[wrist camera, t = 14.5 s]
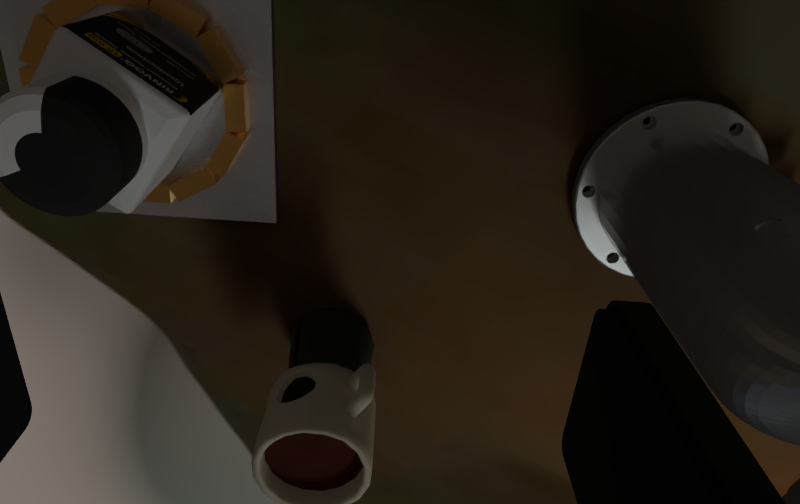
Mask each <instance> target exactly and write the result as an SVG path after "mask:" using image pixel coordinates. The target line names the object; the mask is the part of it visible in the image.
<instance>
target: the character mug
mask: <svg viewBox="0 0 800 504" xmlns="http://www.w3.org/2000/svg"><path fill="white" fill-rule="evenodd" d="M295 332H296V327H295V329H294V330H293V336H292V342H291V350H290V358H289V369H288V370H286V371H285V372H283V373H282V374H281V375H280V376H279V378H278V379H277V381H276V382H275V384H274V385H273V388H272V390H271V392H270V394H269V397H268V400H267V411H266V414H265V416H264V419H263V422H262V424H261V427H260V429H259V432H258V435H257V442H256V446H255V449H254V453H253V457H252V470H253V477H254V479H255V480H256V482H257V484H258V486H259V487H260V489H261V490H262V492H263V493H265V494H266V495H267V496H268V497H270V498H271V499H272V500H274V501H275V502H276V503H277V504H351V503H353V502H355V501H357V500H358V499H360V498H361V496H362V495H363V493H364V492H365V491H366V489H367V488H368V486H369V485H370V481H371V472H372V463H373V446H374V427H375V408H376V402H375V399H374V393H375V375H376V371H375V369H374V367H373V365H372V363H370V362H371V358H372V353H373V348H374V344H373V341H372V338H371V335H370V332H369V331H368V330H367V329H366V328H365V327H364V326H363V325H362V323H361V322H360V321H359V320H358V319H356V318H354V317H352V316H350V315H348V314H346V313H344V312H342V311H338V310H320V311H318V312H315V313H312V314H310V315H307V316H305V317H304V319H303V322H302V328H301V333H300V335H299V338H298V340H297V343H296V345H295V351H294V341H295Z"/></svg>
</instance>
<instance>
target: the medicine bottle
mask: <svg viewBox="0 0 800 504" xmlns="http://www.w3.org/2000/svg"><path fill="white" fill-rule="evenodd" d="M222 88H223V86H222V83H221V82H220V81H219V80H217V79H216V78H214V77H213V76H211V75H210V74H209V73H207V72H206V71H204V70H203V69H201V68H200V67H199V66H197V65H196V64H194V63H193V62H192V61H190V60H189V59H187V58H186V57H184V56H183V55H182V54H180V53H179V52H177V51H176V50H175V49H173V48H172V47H170V46H169V45H167V44H166V43H165V42H163V41H162V40H160V39H159V38H157V37H156V36H155V35H153V34H152V33H150V32H149V31H148V30H146V29H145V28H143V27H142V26H140V25H139V24H138V23H136V22H135V21H133V20H132V19H131V18H129V17H128V16H126V15H125V14H123V13H122V12H120V11H113V12H110V13H106V14H103V15H99V16H96V17H92V18H88V19H85V20H81V21H78V22H74V23H71V24H67V25H64V26H60V27H58V28H57V29H56V30H55V31H54V34H53V36H52V38H51V40H50V42H49V44H48V46H47V48H46V50H45V52H44V55H43V57H42V59H41V61H40V63H39V65H38V67H37V69H36V71H35V74H34V76H33V78H32V80H31V82H30V84H27V85H25V86H23V87H20V88H18V89H15V90H13V91H10V92H8V93H7V94H5V95H3V96H1V97H0V181H1V182H2V184H3V185H4V186H5V187H6V188H7V189H8V190H9V191H10V192H11V193H13V194H14V195H15V196H16V197H18V198H19V199H21V200H22V201H24V202H25V203H27V204H29V205H30V206H32V207H34V208H36V209H39V210H41V211H44V212H47V213H51V214H55V215H61V216H80V215H85V214H89V213H92V212H94V211H96V210H98V209H100V208H102V207H103V206H105V205H106V204H107V203H109V204H110V205H112V206H114V207H115V208H117V209H119V210H120V211H122V212H124V213H131V212H132V211H134V209H135V208H136V207H137V206H138V205H139V204H140V203H141V202H142V201H143V200H144V199H145V198H146V197H147V196H148V195H149V194H150V193H151V192H152V191H153V190H154V189H155V187H156V186H157V185H158V184H159V183H160V182H161V181H162V180H163V179H164V178H165V177H166V176H167V175H168V174H169V173H170V172H171V171H172V170H173V168H174V166H175V165H176V163H177V162H178V160H179V158H180V157H181V155H182V154H183V152H184V150H185V149H186V147H187V146H188V144H189V142H190V141H191V139H192V138H193V136H194V134H195V133H196V131H197V130H198V128H199V126H200V125H201V123H202V122H203V120H204V118H205V117H206V115H207V114H208V112H209V110H210V109H211V107H212V106H213V104H214V102H215V101H216V99H217V98H218V96H219V94H220V93H221V91H222Z"/></svg>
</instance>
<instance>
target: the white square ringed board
mask: <svg viewBox="0 0 800 504" xmlns="http://www.w3.org/2000/svg"><path fill="white" fill-rule="evenodd" d="M113 11H120V12H122V13H123V14H125V15H126V16H128V17H129V18H131V19H132V20H133V21H135V22H136V23H138V24H139V25H140V26H142V27H143V28H145V29H146V30H148V31H149V32H150V33H152V34H153V35H155V36H156V37H157V38H159V39H160V40H162V41H163V42H165V43H166V44H167V45H169V46H170V47H172V48H173V49H175V50H176V51H177V52H179V53H180V54H182V55H183V56H184V57H186V58H187V59H189V60H190V61H192V62H193V63H194V64H196V65H197V66H199V67H200V68H201V69H203V70H204V71H206V72H207V73H209V74H210V75H211V76H213V77H214V78H216V79H217V80H219V81H220V82H221V83H222V86H223V88H222V91H221V93H220V94H219V96H218V98H217V99H216V101H215V102H214V104H213V106H212V107H211V109H210V110H209V112H208V114H207V115H206V117H205V118H204V120H203V122H202V123H201V125H200V126H199V128H198V130H197V131H196V133H195V134H194V136H193V138H192V139H191V141H190V142H189V144H188V146H187V147H186V149H185V150H184V152H183V154H182V155H181V157H180V158H179V160H178V162H177V163H176V165H175V166H174V168H173V170H172V171H171V172H170V173H169V174H168V175H167V176H166V177H165V178H164V179H163V180H162V181H161V182H160V183H159V184H158V185H157V186H156V187H155V189H154V190H153V191H152V192H151V193H150V194H149V195H148V196H147V197H146V198H145V199H144V200H143V201H142V202H141V203H140V204H139V205H138V206H137V207H136V208H135V209H134V211H132V212H131V213H129V214H144V215H159V216H175V217H190V218H205V219H220V220H235V221H250V222H265V223H277V221H278V173H277V129H276V85H275V41H274V0H0V48H1V52H2V57H3V61H4V66H5V70H6V74H7V79H8V83H9V88H10V91H13V90H15V89H18V88H20V87H23V86H25V85H27V84H30V82H31V80H32V78H33V76H34V74H35V71H36V69H37V67H38V65H39V63H40V61H41V59H42V57H43V55H44V52H45V50H46V48H47V46H48V44H49V42H50V40H51V38H52V36H53V34H54V31H55V30H56V29H57V28H58V27H60V26H64V25H67V24H71V23H74V22H78V21H81V20H85V19H88V18H92V17H96V16H99V15H103V14H106V13H110V12H113ZM96 211H99V212H114V213H124V212H122V211H120V210H119V209H117V208H115V207H114V206H112V205H110V204H109V203H107V204H106V205H105V206H103V207H102V208H100V209H98V210H96Z"/></svg>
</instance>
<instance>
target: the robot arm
mask: <svg viewBox="0 0 800 504" xmlns="http://www.w3.org/2000/svg"><path fill="white" fill-rule="evenodd" d="M646 117H648V120H647V121H646V122H645V123H642V122H643V120H644V119H645V118H646ZM731 125H733V126H732V127H731ZM730 127H731V128H730ZM588 185H589V186H588ZM586 186H588V188H587V189H584V190H583V188H584V187H586ZM571 208H572V215H573V222H574V224H575V227H576V229H577V232H578V235H579V237H580V238H581V240H582V242H583V243H584V245H585V247H586V248H587V249H588V250H589V252H590V253H591V254H592V255H593V256H594V257H595V259H597V260H598V261H599V262H600V263H602V264H603V265H604V266H606V267H607V268H609V269H612V270H614V271H616V272H618V273H620V274H623V275H627V276H631V277H635V279H636V280H637V282H638V283H639V285H640V286H641V287H642V289H643V290H644V292H645V293H646V295H647V296H648V298H649V299H650V301H651V302H652V304H653V305H654V307H655V308H656V310H657V311H658V313H659V314H660V316H661V317H662V318H663V320H664V321H665V323H666V324H667V326H668V327H669V329H670V330H671V332H672V333H673V335H674V336H675V338H676V339H677V341H678V342H679V344H680V345H681V347H682V348H683V349H684V351H685V352H686V354H687V355H688V357H689V358H690V360H691V361H692V363H693V364H694V366H695V367H696V369H697V370H698V372H699V373H700V374H701V375H702V377H703V378H704V380H705V381H706V383H707V384H708V386H709V387H710V389H711V390H712V391H713V393H714V394H715V395H716V397H717V398H718V399H719V400H720V401H721V403H722V404H723V405H724V406H725V407H726V408H727V409H728V410H729V411H731V412H732V413H733V414H734V415H735V416H736V417H738V418H739V419H740V420H742V421H743V422H745V423H746V424H748V425H750V426H751V427H753V428H755V429H756V430H758V431H760V432H762V433H764V434H766V435H769V436H771V437H774V438H777V439H779V440H782V441H785V442H787V443H791V444H794V445H798V446H800V185H799V184H797V183H796V182H794V181H793V180H791V179H790V178H788V177H786V176H785V175H783V174H782V173H780V172H779V171H777V170H775V169H774V168H772V167H771V166H770V163H769V158H768V153H767V149H766V147H765V144H764V142H763V140H762V138H761V136H760V134H759V133H758V132H757V130H756V129H755V128H754V127H753V126H752V124H751V123H750V122H749V121H748V120H746V119H745V118H744V117H742V116H741V115H739V114H738V113H737V112H735V111H733V110H731V109H729V108H727V107H725V106H724V105H722V104H719V103H715V102H712V101H708V100H705V99H695V98H678V99H669V100H663V101H660V102H657V103H653V104H650V105H647V106H644V107H642V108H640V109H638V110H636V111H634V112H632V113H630V114H628V115H626V116H625V117H623V118H622V119H621V120H619V121H618V122H616V123H615V124H614V125H612V126H611V127H610V128H609V129H608V130H607V131H606V132H605V133H604V134H603V135H602V136H601V137H600V138H599V139H598V140H597V141H596V142H595V143H594V145H593V146H592V147H591V149H590V150H589V152H588V153H587V154H586V156H585V157H584V159H583V162H582V164H581V166H580V168H579V170H578V172H577V175H576V178H575V182H574V186H573V189H572V202H571ZM610 253H611V254H610ZM608 254H609V255H608ZM654 307H653V306H652V305H651V304H650V303H645V302H629V301H611V302H610V303H609V304H608V306H607V308H606V309H599V310H597V312H596V313H595V316H594V319H593V323H592V327H591V331H590V334H589V338H588V342H587V346H586V349H585V353H584V357H583V361H582V364H581V368H580V372H579V376H578V379H577V383H576V387H575V391H574V395H573V398H572V402H571V406H570V410H569V413H568V417H567V421H566V425H565V428H564V432H563V437H562V451H563V457H564V461H565V464H566V467H567V470H568V474H569V477H570V480H571V483H572V487H573V490H574V493H575V496H576V500H577V503H578V504H800V478H799V479H798V480H797V481H796V482H795V483H794V484H792V485H791V486H790V488H789V489H788V491H787V493H786V494H785V495H784V496H783V497H782V498H781V496H780V495H779V493H778V492H777V490H776V489H775V487H774V486H773V484H772V483H771V481H770V480H769V478H768V477H767V475H766V474H765V472H764V471H763V469H762V468H761V466H760V465H759V463H758V462H757V460H756V459H755V457H754V456H753V454H752V453H751V451H750V450H749V448H748V447H747V445H746V444H745V443H744V441H743V440H742V438H741V437H740V435H739V434H738V432H737V431H736V429H735V428H734V426H733V425H732V423H731V422H730V420H729V419H728V417H727V416H726V414H725V413H724V411H723V410H722V408H721V407H720V405H719V404H718V402H717V401H716V399H715V398H714V396H713V395H712V393H711V392H710V390H709V389H708V387H707V386H706V384H705V383H704V381H703V380H702V378H701V377H700V375H699V374H698V372H697V371H696V369H695V368H694V367H693V365H692V364H691V362H690V361H689V359H688V358H687V356H686V355H685V353H684V352H683V350H682V349H681V347H680V346H679V344H678V343H677V341H676V340H675V338H674V337H673V335H672V334H671V332H670V331H669V329H668V328H667V326H666V325H665V323H664V322H663V320H662V319H661V317H660V316H659V314H658V313H657V311H656V310H655V308H654ZM31 412H32V406H31V401H30V397H29V394H28V390H27V387H26V383H25V379H24V376H23V372H22V369H21V365H20V361H19V358H18V355H17V351H16V347H15V344H14V340H13V337H12V333H11V329H10V326H9V322H8V319H7V315H6V311H5V308H4V304H3V301H2V297H1V293H0V462H1V461H2V459H3V458H4V457H5V456H6V454H7V453H8V452H9V450H10V449H11V448H12V446H13V445H14V444H15V442H16V440H18V438H19V437H20V436H21V434H22V433H23V432H24V430H25V429H26V427H27V426H28V423H29V421H30V418H31Z"/></svg>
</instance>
